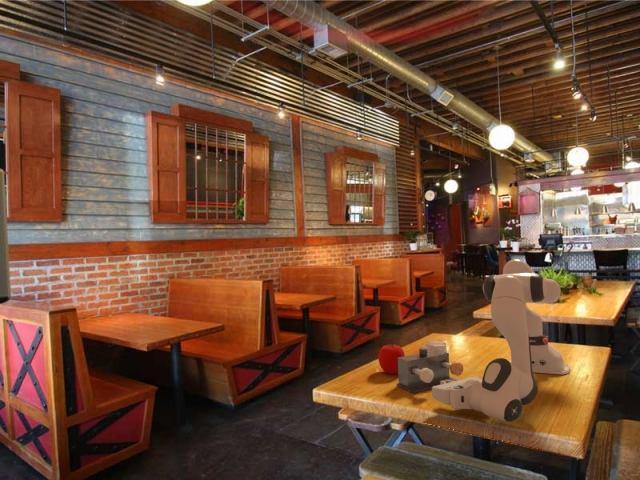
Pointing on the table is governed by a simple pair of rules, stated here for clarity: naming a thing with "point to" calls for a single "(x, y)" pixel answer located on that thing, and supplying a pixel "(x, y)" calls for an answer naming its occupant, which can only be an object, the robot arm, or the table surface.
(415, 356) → the mount
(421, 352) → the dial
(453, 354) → the table surface
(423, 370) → the knob
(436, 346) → the cup
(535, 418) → the table surface
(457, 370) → the knob
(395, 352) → the tomato
